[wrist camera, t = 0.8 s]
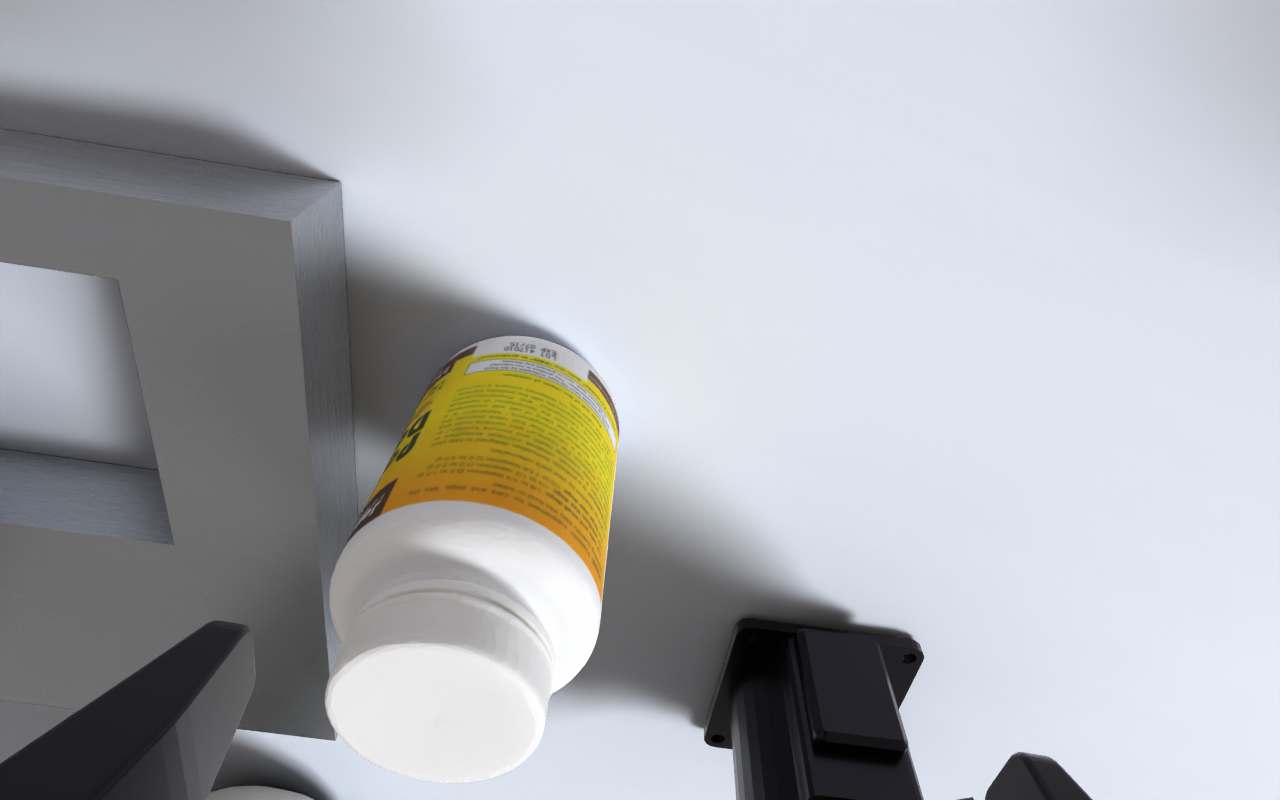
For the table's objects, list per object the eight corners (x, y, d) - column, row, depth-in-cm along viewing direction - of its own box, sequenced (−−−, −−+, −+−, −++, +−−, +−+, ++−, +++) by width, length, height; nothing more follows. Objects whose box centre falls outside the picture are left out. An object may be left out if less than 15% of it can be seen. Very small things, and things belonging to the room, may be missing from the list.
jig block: (365, 667, 28) (335, 740, 26) (-88, 610, 28) (-165, 680, 25) (340, 182, 19) (291, 221, 17) (-342, 74, 18) (-506, 98, 16)
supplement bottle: (440, 305, 21) (276, 577, 12) (641, 353, 21) (623, 646, 13) (419, 467, 24) (274, 782, 15) (597, 506, 24) (557, 831, 16)
